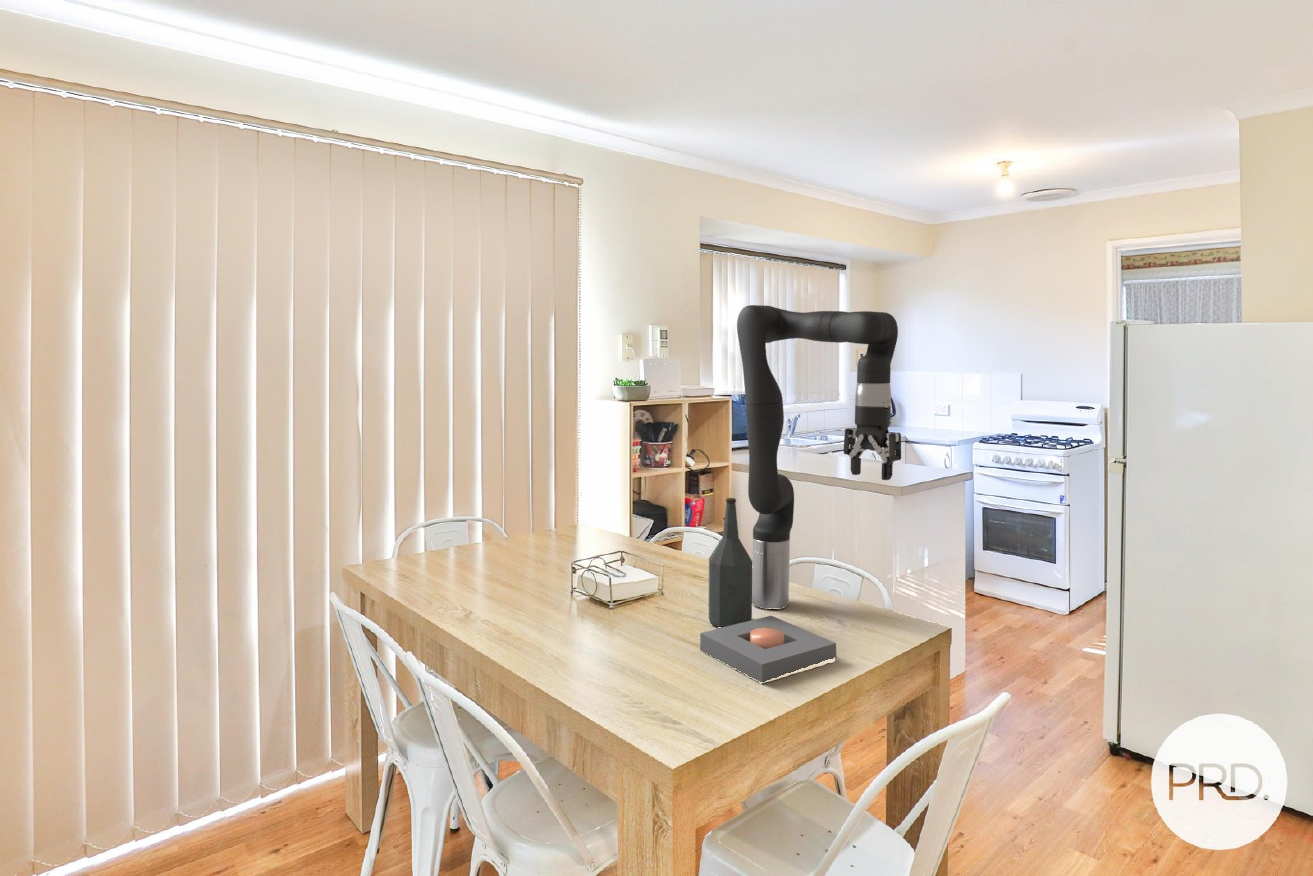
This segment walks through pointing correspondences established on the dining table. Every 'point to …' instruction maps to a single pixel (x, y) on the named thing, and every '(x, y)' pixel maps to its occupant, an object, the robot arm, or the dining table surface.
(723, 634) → the button box
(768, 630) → the button cap
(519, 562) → the dining table surface
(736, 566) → the bottle
